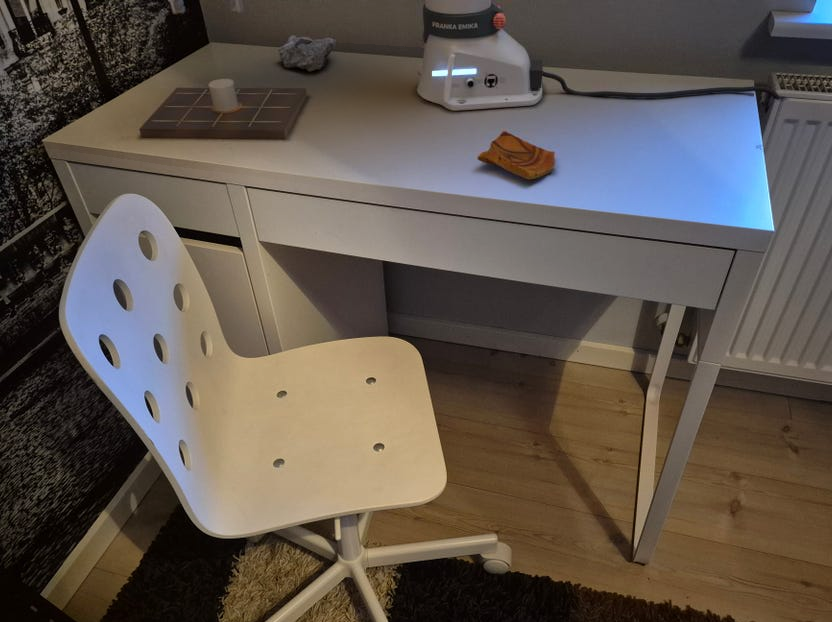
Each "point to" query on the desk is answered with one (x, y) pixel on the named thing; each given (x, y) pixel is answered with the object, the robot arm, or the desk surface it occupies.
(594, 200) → the desk surface
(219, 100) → the white plastic cylinder
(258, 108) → the board
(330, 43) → the mineral specimen
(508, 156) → the pottery fragment
